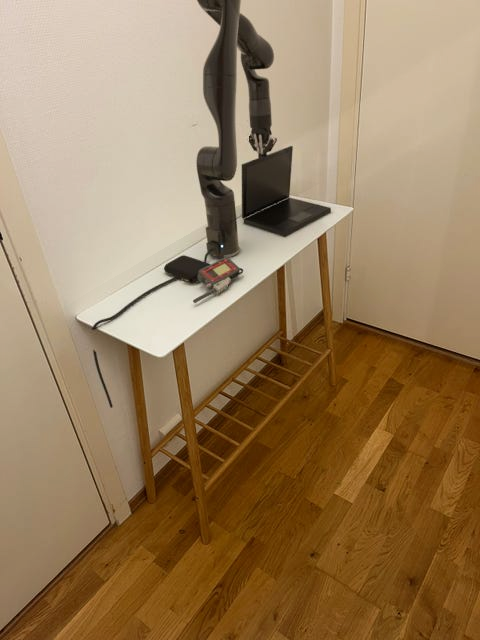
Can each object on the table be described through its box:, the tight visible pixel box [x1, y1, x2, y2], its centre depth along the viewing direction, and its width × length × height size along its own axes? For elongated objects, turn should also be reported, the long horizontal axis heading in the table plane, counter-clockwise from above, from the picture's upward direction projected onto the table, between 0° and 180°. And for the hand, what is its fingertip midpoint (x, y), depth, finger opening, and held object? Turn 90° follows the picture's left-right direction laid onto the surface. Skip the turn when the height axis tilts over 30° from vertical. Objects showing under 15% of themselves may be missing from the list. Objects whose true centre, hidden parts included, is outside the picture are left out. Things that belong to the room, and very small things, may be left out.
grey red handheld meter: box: [192, 257, 244, 304], centre depth 128 cm, size 9×4×20 cm
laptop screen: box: [241, 145, 294, 220], centre depth 165 cm, size 20×26×1 cm
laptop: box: [243, 197, 332, 238], centre depth 166 cm, size 20×26×2 cm
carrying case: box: [163, 255, 211, 284], centre depth 137 cm, size 11×3×15 cm
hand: (262, 163), depth 163 cm, fingers closed
